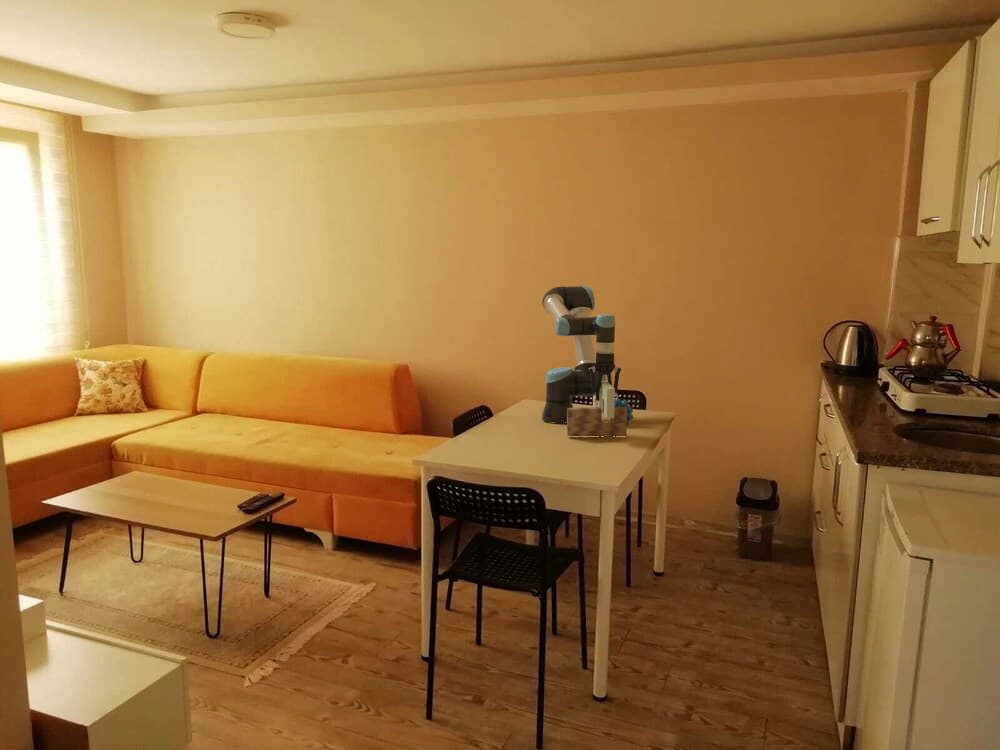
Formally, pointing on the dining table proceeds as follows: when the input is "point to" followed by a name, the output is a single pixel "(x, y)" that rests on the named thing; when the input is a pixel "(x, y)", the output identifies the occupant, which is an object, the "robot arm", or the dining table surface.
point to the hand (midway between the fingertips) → (604, 408)
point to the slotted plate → (607, 399)
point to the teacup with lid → (595, 402)
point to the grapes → (624, 404)
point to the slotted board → (596, 422)
